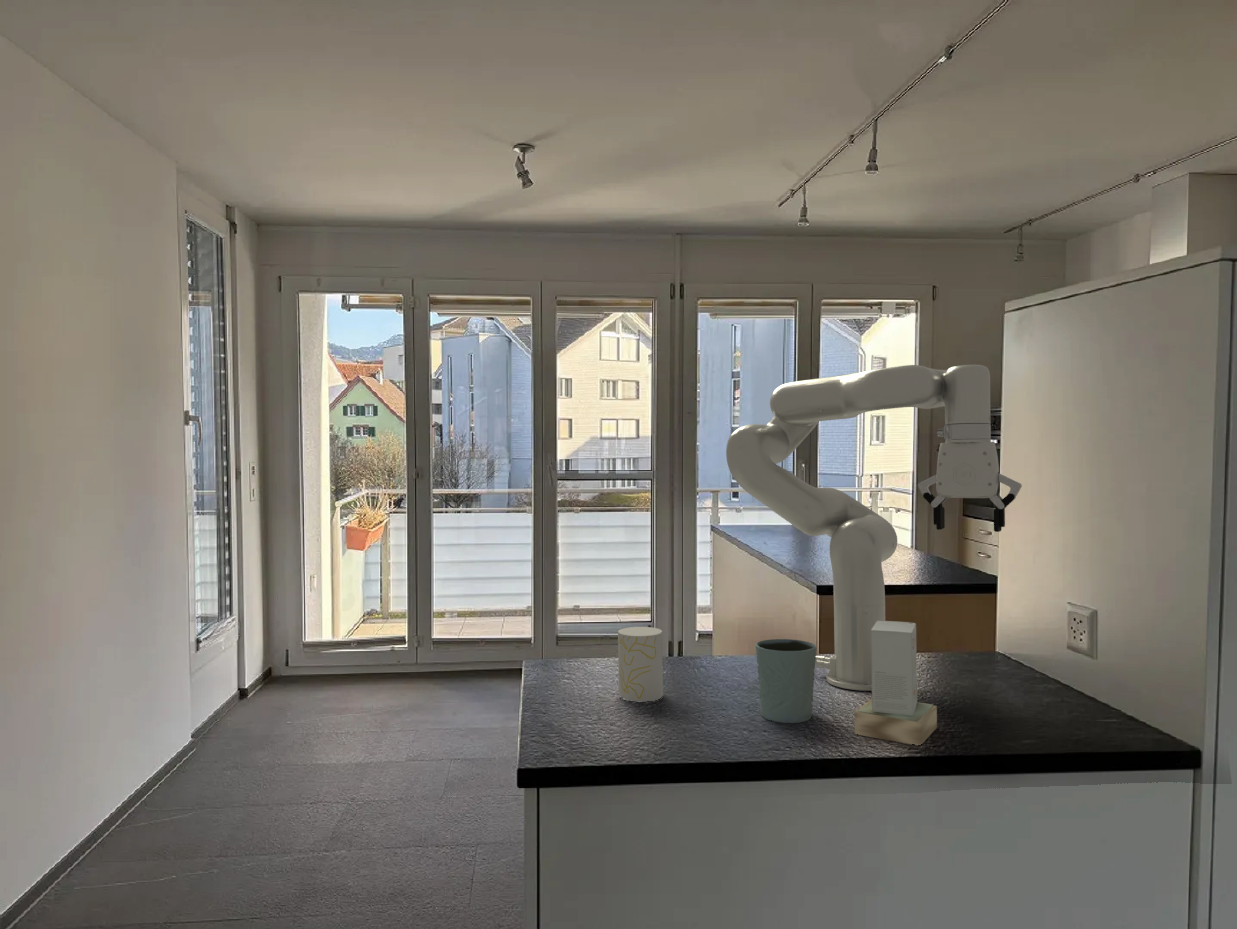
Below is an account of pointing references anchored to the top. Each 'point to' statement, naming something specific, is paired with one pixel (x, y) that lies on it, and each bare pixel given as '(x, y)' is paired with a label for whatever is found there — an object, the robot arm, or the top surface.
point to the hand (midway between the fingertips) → (968, 530)
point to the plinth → (897, 724)
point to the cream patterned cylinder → (640, 663)
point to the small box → (894, 667)
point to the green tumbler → (786, 679)
